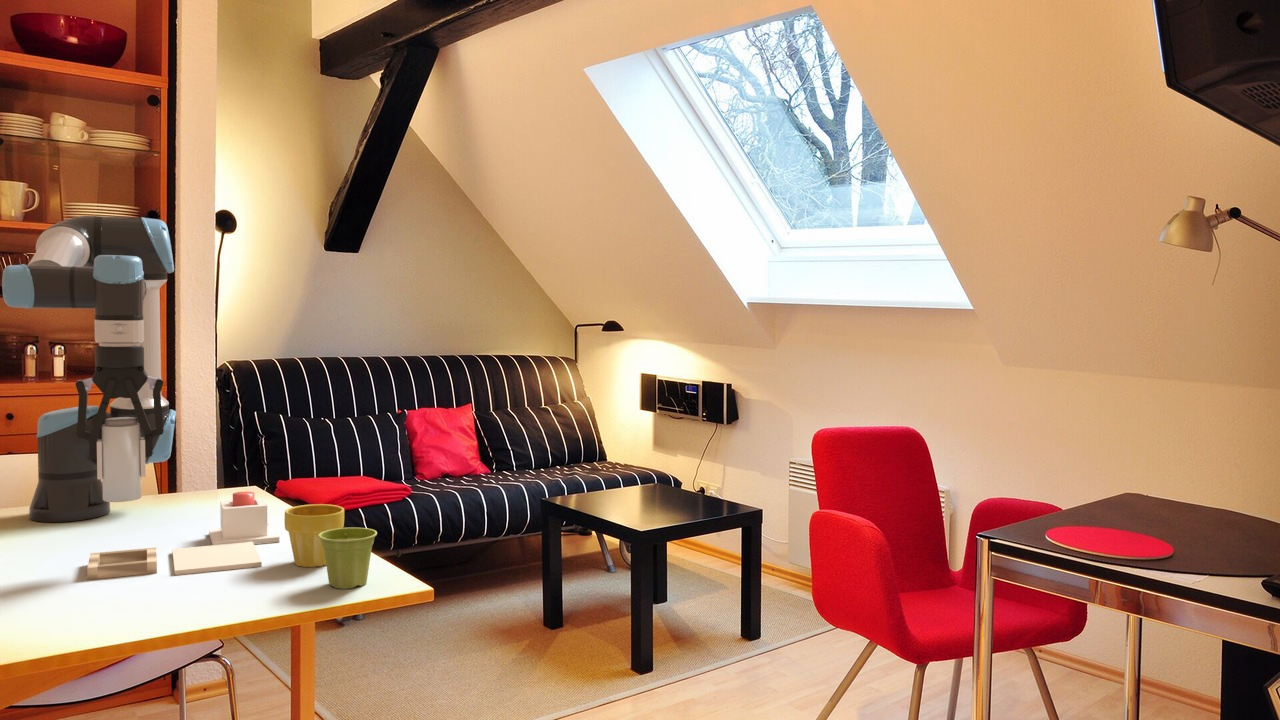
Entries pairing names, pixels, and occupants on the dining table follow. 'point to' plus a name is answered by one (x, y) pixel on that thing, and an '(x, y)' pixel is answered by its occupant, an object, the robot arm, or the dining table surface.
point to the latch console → (244, 524)
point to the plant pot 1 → (311, 531)
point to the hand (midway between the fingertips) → (121, 476)
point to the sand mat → (215, 558)
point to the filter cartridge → (121, 459)
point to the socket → (122, 563)
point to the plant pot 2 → (347, 555)
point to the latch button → (243, 499)
